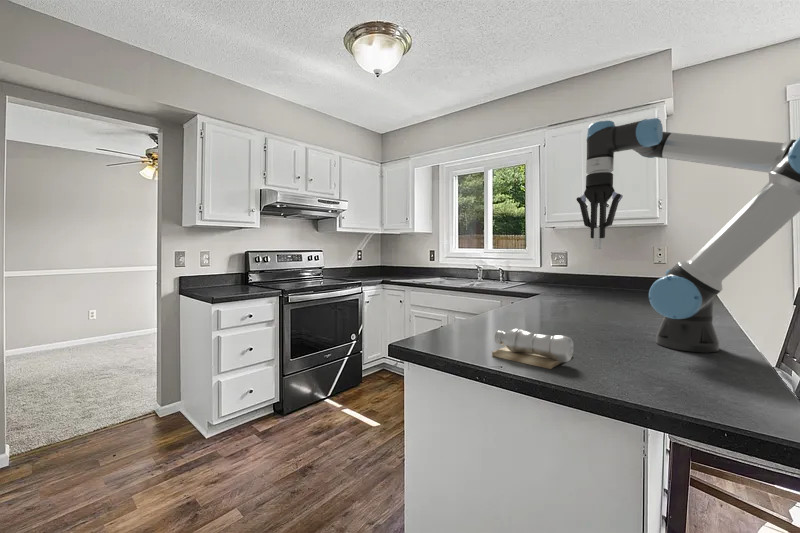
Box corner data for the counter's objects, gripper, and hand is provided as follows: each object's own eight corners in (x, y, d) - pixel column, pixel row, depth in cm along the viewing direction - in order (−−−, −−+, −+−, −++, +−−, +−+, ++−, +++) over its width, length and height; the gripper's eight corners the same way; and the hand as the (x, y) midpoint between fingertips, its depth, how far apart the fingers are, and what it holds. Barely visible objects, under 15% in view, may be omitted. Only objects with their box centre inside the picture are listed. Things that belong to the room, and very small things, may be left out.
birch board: (572, 356, 102) (572, 351, 101) (550, 369, 91) (550, 364, 91) (517, 345, 113) (517, 341, 113) (492, 355, 102) (492, 351, 102)
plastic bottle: (573, 331, 92) (499, 320, 105) (566, 352, 88) (489, 338, 101) (577, 348, 95) (505, 335, 108) (570, 369, 92) (496, 353, 105)
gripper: (573, 174, 118) (571, 248, 119) (619, 168, 109) (617, 249, 110) (581, 178, 123) (579, 248, 125) (626, 172, 114) (623, 248, 115)
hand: (597, 248), depth 117 cm, fingers closed
